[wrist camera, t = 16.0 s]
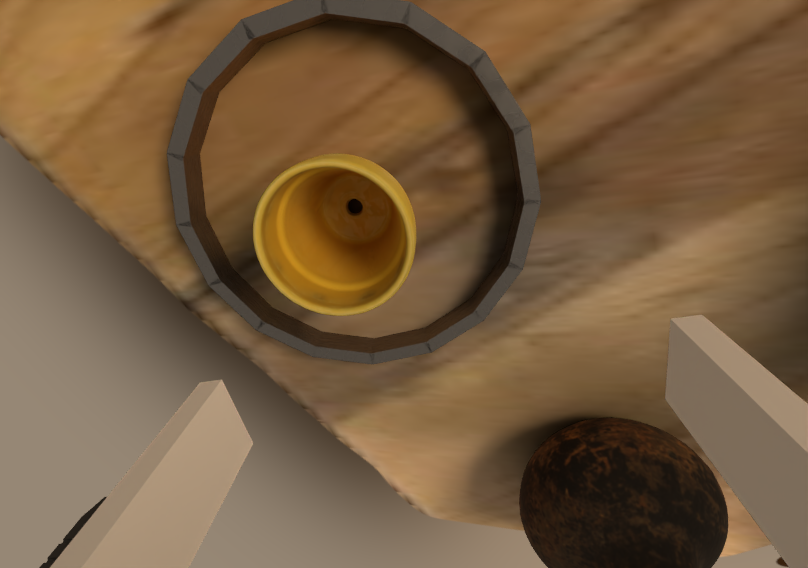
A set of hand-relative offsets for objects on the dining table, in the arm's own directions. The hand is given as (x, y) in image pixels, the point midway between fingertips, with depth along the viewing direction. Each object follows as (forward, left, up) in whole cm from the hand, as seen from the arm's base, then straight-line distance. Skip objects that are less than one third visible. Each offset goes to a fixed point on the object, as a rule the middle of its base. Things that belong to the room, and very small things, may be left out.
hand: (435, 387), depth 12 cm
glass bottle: (+16, +30, -24) cm, 42 cm away
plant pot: (+4, -5, -24) cm, 25 cm away
